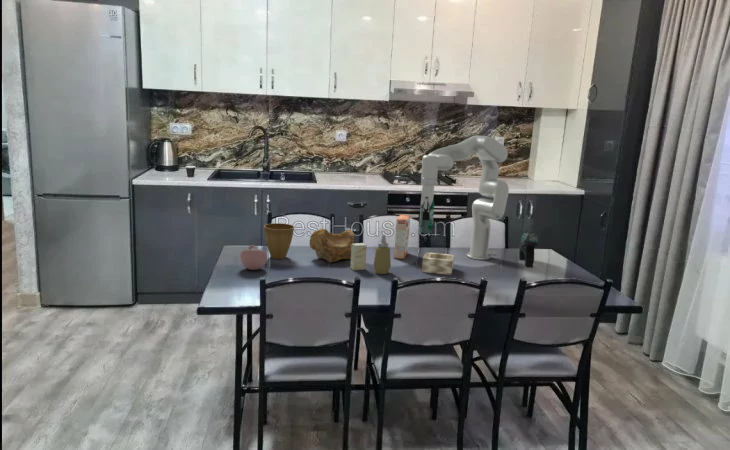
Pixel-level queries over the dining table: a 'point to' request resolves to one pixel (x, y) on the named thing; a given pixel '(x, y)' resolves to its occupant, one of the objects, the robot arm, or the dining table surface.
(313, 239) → the rough brown rock
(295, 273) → the dining table surface
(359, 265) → the skincare box
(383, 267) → the squeeze bottle
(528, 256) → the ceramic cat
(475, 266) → the dining table surface
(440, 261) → the well block
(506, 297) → the dining table surface
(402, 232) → the cracker box
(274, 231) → the plant pot
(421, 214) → the can
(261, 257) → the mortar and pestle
